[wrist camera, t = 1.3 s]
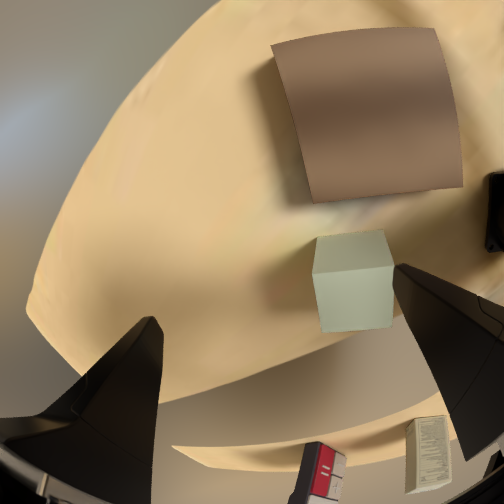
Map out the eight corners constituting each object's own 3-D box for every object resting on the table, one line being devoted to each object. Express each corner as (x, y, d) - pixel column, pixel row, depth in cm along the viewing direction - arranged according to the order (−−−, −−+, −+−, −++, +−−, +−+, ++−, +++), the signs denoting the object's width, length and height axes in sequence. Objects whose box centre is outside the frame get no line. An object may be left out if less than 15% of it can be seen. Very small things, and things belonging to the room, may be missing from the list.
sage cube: (384, 284, 20) (392, 327, 16) (326, 289, 22) (321, 333, 18) (382, 228, 18) (394, 265, 14) (317, 236, 20) (311, 274, 16)
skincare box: (404, 428, 31) (401, 495, 21) (415, 417, 29) (414, 489, 19) (437, 425, 29) (438, 489, 19) (448, 413, 27) (452, 482, 17)
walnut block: (446, 174, 15) (463, 187, 13) (316, 189, 19) (313, 203, 16) (420, 38, 11) (434, 28, 8) (280, 54, 14) (270, 45, 12)
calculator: (349, 455, 40) (337, 519, 28) (330, 458, 42) (317, 519, 30) (322, 440, 38) (306, 515, 25) (302, 443, 40) (284, 513, 27)
